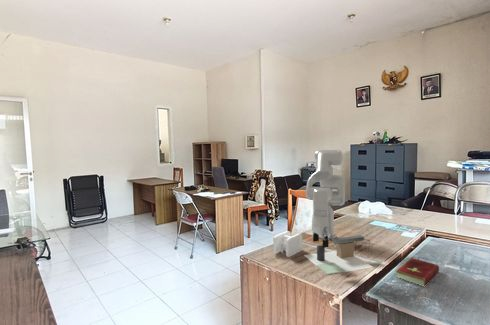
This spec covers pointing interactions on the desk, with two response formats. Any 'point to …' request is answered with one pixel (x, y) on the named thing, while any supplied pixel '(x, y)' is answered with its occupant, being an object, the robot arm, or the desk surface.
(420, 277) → the hardcover book
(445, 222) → the desk surface
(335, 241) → the bar
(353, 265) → the cable panel
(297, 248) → the cable organizer
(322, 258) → the cable plug
